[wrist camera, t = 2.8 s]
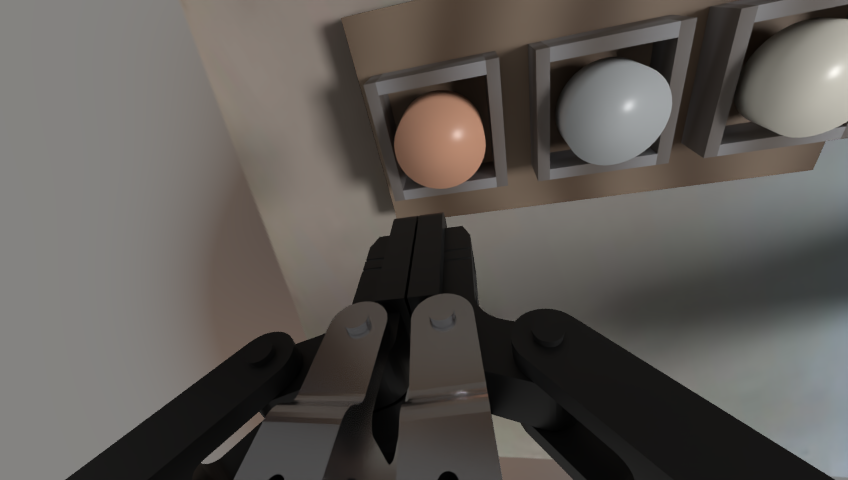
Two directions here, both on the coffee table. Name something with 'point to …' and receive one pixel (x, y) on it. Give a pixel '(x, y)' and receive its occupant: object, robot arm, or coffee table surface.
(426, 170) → the terracotta button
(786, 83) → the cream button
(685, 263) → the coffee table surface
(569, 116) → the grey button
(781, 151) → the button panel
